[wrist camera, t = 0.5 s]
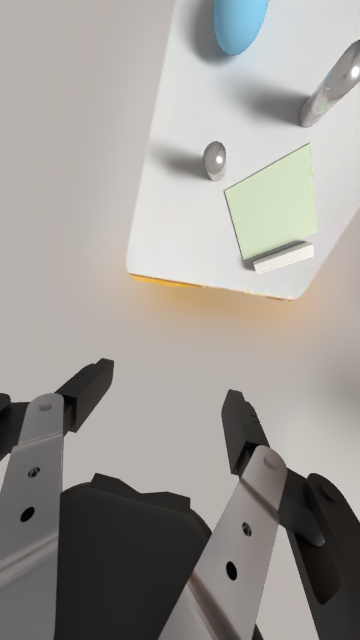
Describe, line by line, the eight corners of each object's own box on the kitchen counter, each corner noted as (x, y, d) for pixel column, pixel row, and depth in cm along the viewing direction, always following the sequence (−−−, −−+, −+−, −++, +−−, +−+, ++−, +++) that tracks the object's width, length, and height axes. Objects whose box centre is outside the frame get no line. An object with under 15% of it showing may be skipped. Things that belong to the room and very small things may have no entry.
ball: (208, 15, 20) (203, -42, 15) (258, -37, 18) (269, -120, 13) (222, 80, 22) (222, 48, 18) (268, 42, 20) (281, -6, 15)
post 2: (298, 107, 22) (334, 56, 15) (322, 91, 21) (375, 27, 14) (300, 132, 23) (335, 97, 16) (323, 118, 22) (373, 73, 15)
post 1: (206, 166, 27) (199, 150, 20) (222, 156, 26) (221, 135, 19) (212, 185, 28) (207, 176, 21) (227, 175, 27) (228, 163, 20)
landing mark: (224, 191, 28) (224, 191, 28) (310, 143, 23) (310, 142, 23) (243, 259, 33) (243, 260, 33) (316, 231, 28) (317, 231, 28)
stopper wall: (252, 261, 33) (254, 265, 31) (306, 241, 29) (313, 244, 27) (254, 271, 34) (256, 275, 32) (308, 252, 30) (314, 255, 28)
